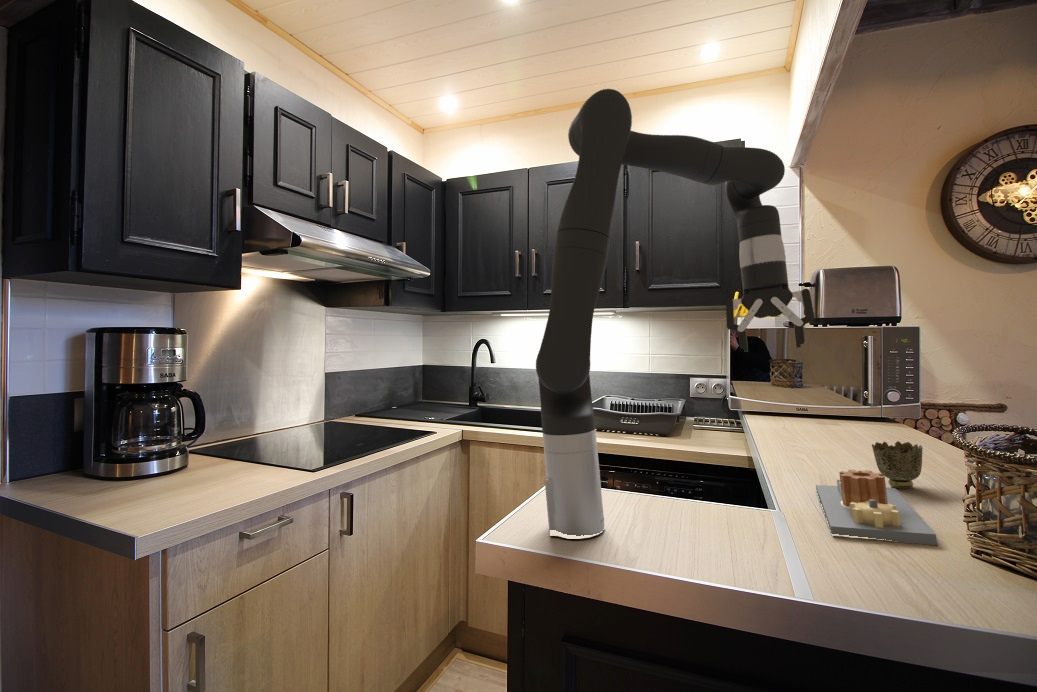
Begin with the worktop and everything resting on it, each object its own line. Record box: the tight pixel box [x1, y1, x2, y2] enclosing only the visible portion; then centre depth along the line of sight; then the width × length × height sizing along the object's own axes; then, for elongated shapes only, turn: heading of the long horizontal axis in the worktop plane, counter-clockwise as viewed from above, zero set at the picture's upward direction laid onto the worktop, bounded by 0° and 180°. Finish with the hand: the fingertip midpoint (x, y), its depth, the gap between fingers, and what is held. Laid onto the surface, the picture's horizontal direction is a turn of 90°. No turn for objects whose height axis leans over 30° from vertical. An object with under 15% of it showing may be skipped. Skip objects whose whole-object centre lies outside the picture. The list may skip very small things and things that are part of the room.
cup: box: [871, 440, 923, 490], centre depth 87 cm, size 8×7×8 cm
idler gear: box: [839, 469, 888, 506], centre depth 75 cm, size 6×6×5 cm
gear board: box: [815, 477, 938, 546], centre depth 75 cm, size 22×12×4 cm, turn 152°
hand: (771, 349), depth 85 cm, fingers open, 8 cm apart
